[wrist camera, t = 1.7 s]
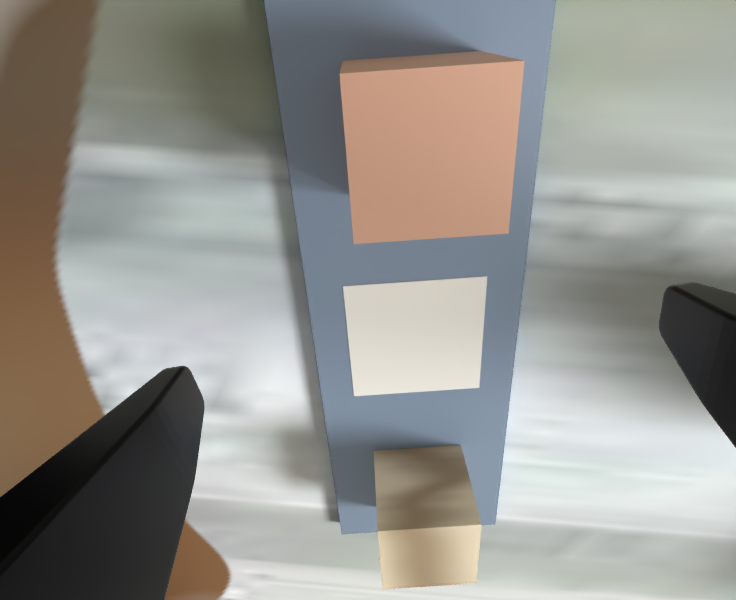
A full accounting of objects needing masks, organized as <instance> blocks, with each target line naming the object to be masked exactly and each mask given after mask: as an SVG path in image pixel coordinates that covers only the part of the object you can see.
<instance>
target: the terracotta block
mask: <svg viewBox="0 0 736 600" xmlns="http://www.w3.org/2000/svg"><path fill="white" fill-rule="evenodd" d="M523 72H524V60H520V59H515V58H511V57H506V56H502V55H497V54H493V53H488V52H484V51H474V52H460V53H446V54H431V55H417V56H403V57H389V58H375V59H361V60H347V61H342V65H341V70H340V86H341V98H342V110H343V122H344V134H345V146H346V158H347V170H348V182H349V194H350V206H351V218H352V230H353V241H354V244H363V243H378V242H392V241H407V240H422V239H436V238H451V237H465V236H480V235H494V234H509V223H510V212H511V201H512V191H513V180H514V169H515V158H516V148H517V137H518V126H519V115H520V104H521V94H522V83H523Z"/></svg>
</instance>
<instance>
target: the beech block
mask: <svg viewBox="0 0 736 600" xmlns="http://www.w3.org/2000/svg"><path fill="white" fill-rule="evenodd" d="M374 469H375V488H376V508H377V528H378V541H379V553H380V565H381V577H382V589H395V588H410V587H426V586H441V585H457V584H472V583H476V579H477V568H478V558H479V547H480V536H481V525H482V524H481V521H480V517H479V513H478V509H477V505H476V501H475V497H474V493H473V490H472V486H471V482H470V478H469V474H468V470H467V466H466V462H465V459H464V455H463V451H462V447H461V445H453V446H438V447H423V448H408V449H393V450H378V451H374Z"/></svg>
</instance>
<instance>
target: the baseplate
mask: <svg viewBox="0 0 736 600" xmlns="http://www.w3.org/2000/svg"><path fill="white" fill-rule="evenodd" d="M264 4H265V11H266V17H267V24H268V31H269V38H270V45H271V52H272V59H273V66H274V72H275V79H276V86H277V93H278V100H279V107H280V114H281V121H282V127H283V134H284V141H285V148H286V155H287V162H288V169H289V176H290V182H291V189H292V196H293V203H294V210H295V217H296V224H297V230H298V237H299V244H300V251H301V258H302V265H303V272H304V279H305V285H306V292H307V299H308V306H309V313H310V320H311V327H312V334H313V340H314V347H315V354H316V361H317V368H318V375H319V382H320V389H321V395H322V402H323V409H324V416H325V423H326V430H327V437H328V444H329V450H330V457H331V464H332V471H333V478H334V485H335V492H336V499H337V505H338V512H339V519H340V526H341V533H342V534H354V533H370V532H378V528H377V508H376V488H375V469H374V451H378V450H393V449H408V448H423V447H438V446H453V445H461V447H462V451H463V455H464V459H465V462H466V466H467V470H468V474H469V478H470V482H471V486H472V490H473V493H474V497H475V501H476V505H477V509H478V513H479V517H480V521H481V524H482V525H492V524H495V522H496V514H497V505H498V496H499V488H500V479H501V470H502V462H503V453H504V445H505V436H506V427H507V419H508V410H509V401H510V393H511V384H512V375H513V367H514V358H515V349H516V341H517V332H518V324H519V315H520V306H521V298H522V289H523V280H524V272H525V263H526V254H527V246H528V237H529V228H530V220H531V211H532V203H533V194H534V185H535V177H536V168H537V159H538V151H539V142H540V133H541V125H542V116H543V108H544V99H545V90H546V82H547V73H548V64H549V56H550V47H551V38H552V30H553V21H554V12H555V4H556V0H264ZM474 51H484V52H488V53H493V54H497V55H502V56H506V57H511V58H515V59H520V60H524V72H523V83H522V94H521V104H520V115H519V126H518V137H517V148H516V158H515V169H514V180H513V191H512V201H511V212H510V223H509V234H494V235H480V236H465V237H451V238H436V239H422V240H407V241H392V242H378V243H363V244H354V241H353V230H352V218H351V206H350V194H349V182H348V170H347V158H346V146H345V134H344V122H343V110H342V98H341V86H340V70H341V65H342V61H347V60H361V59H375V58H389V57H403V56H417V55H431V54H446V53H460V52H474Z"/></svg>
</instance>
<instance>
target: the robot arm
mask: <svg viewBox="0 0 736 600" xmlns="http://www.w3.org/2000/svg"><path fill="white" fill-rule="evenodd" d="M659 329H660V333H661V336H662V338H663V339H664V341H665V343H666V344H667V346H668V348H669V349H670V351H671V353H672V354H673V356H674V358H675V359H676V361H677V363H678V364H679V366H680V368H681V369H682V371H683V373H684V374H685V376H686V378H687V379H688V381H689V383H690V384H691V386H692V388H693V389H694V391H695V393H696V394H697V396H698V397H699V399H700V400H701V402H702V403H703V405H704V406H705V408H706V409H707V410H708V412H709V413H710V415H711V416H712V417H713V419H714V420H715V421H716V422H717V424H718V425H719V426H720V428H721V429H722V430H723V432H724V433H725V434H726V436H727V437H728V438H729V440H730V441H731V442H732V443H733V445H734V446H735V447H736V294H734V293H731V292H727V291H723V290H720V289H716V288H712V287H709V286H705V285H701V284H698V283H694V282H688V283H683V284H677V285H671V286H669V287H668V288H667V289H666V290H665V293H664V297H663V303H662V309H661V314H660V320H659ZM203 415H204V400H203V397H202V394H201V392H200V390H199V388H198V386H197V384H196V381H195V379H194V377H193V375H192V373H191V371H190V369H189V368H188V367H186V366H178V367H172V368H166V369H164V370H162V371H161V372H160V373H159V374H157V375H156V376H155V377H153V378H152V379H151V380H150V381H148V382H147V383H146V384H144V385H143V386H142V387H141V388H139V389H138V390H137V391H136V392H134V393H133V394H132V395H130V396H129V397H128V398H127V399H125V400H124V401H123V402H121V403H120V404H119V405H118V406H116V407H115V408H114V409H113V410H111V411H110V412H109V413H107V414H106V415H105V416H104V417H102V418H101V419H100V420H98V421H97V422H96V423H95V424H93V425H92V426H91V427H90V428H88V429H87V430H86V431H84V432H83V433H82V434H81V435H79V436H78V437H77V438H76V439H74V440H73V441H72V442H70V443H69V444H68V445H67V446H65V447H64V448H63V449H61V450H60V451H59V452H58V453H56V454H55V455H54V456H52V457H51V458H50V459H49V460H47V461H46V462H45V463H44V464H42V465H41V466H40V467H38V468H37V469H36V470H35V471H33V472H32V473H31V474H29V475H28V476H27V477H26V478H24V479H23V480H22V481H21V482H19V483H18V484H17V485H15V486H14V487H13V488H12V489H10V490H9V491H8V492H6V493H5V494H4V495H3V496H1V497H0V600H165V595H166V592H167V588H168V584H169V580H170V576H171V572H172V568H173V564H174V560H175V556H176V552H177V548H178V544H179V540H180V536H181V533H182V529H183V524H184V521H185V517H186V513H187V509H188V505H189V501H190V497H191V493H192V489H193V484H194V480H195V474H196V467H197V460H198V453H199V445H200V438H201V430H202V423H203Z"/></svg>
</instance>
